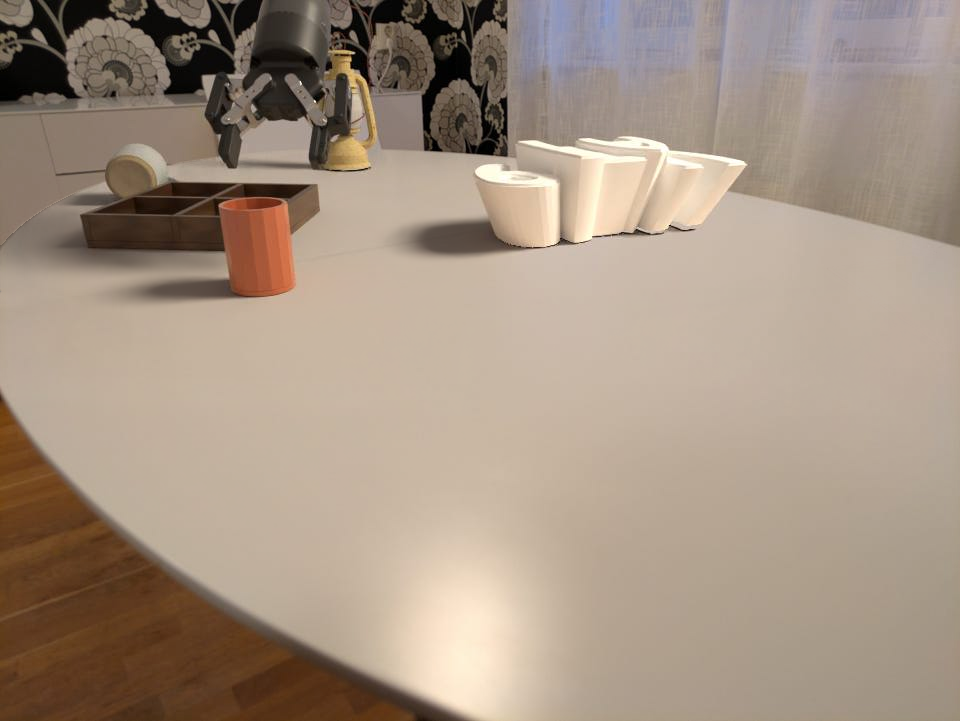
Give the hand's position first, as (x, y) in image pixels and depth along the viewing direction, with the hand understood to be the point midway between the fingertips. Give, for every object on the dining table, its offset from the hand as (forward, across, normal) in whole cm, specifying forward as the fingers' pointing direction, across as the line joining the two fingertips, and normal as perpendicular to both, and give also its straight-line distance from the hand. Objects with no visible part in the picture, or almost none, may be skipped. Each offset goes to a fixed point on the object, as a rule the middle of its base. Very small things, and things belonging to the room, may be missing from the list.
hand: (271, 164), depth 66 cm
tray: (-4, +14, -19) cm, 24 cm away
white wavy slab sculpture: (-6, -35, -22) cm, 42 cm away
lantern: (-40, +8, -55) cm, 68 cm away
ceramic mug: (-16, +31, -32) cm, 47 cm away
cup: (+12, 0, -3) cm, 12 cm away
